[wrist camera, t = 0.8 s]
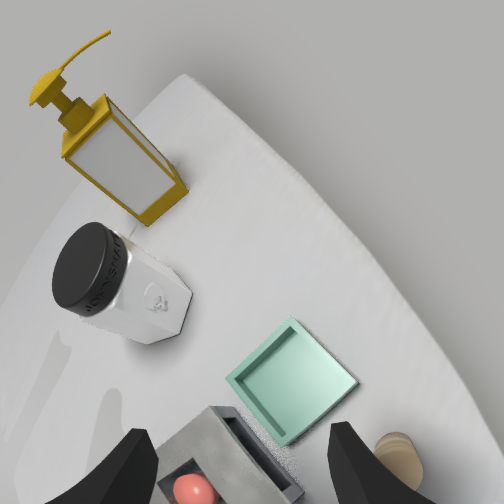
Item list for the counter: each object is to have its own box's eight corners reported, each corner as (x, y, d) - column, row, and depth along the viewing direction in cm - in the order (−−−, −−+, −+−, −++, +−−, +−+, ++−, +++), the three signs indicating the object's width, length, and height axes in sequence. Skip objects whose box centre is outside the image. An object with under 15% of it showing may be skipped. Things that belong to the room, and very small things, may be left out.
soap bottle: (222, 165, 40) (105, 21, 21) (147, 227, 41) (11, 114, 22) (202, 142, 44) (101, 20, 25) (137, 197, 45) (22, 95, 26)
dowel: (420, 448, 18) (434, 474, 10) (390, 474, 18) (388, 513, 10) (395, 424, 19) (398, 439, 12) (366, 451, 19) (353, 478, 12)
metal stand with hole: (304, 491, 19) (289, 505, 16) (199, 549, 19) (175, 561, 16) (233, 406, 25) (209, 405, 22) (147, 473, 25) (119, 476, 22)
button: (227, 498, 19) (218, 502, 18) (198, 514, 19) (189, 518, 18) (202, 465, 21) (193, 467, 20) (176, 483, 21) (166, 485, 20)
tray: (358, 382, 22) (356, 381, 21) (288, 444, 22) (280, 447, 20) (297, 321, 27) (290, 315, 25) (235, 379, 26) (225, 378, 25)
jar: (175, 355, 30) (81, 323, 20) (125, 335, 34) (40, 301, 24) (201, 274, 33) (122, 216, 24) (149, 266, 37) (75, 217, 28)
